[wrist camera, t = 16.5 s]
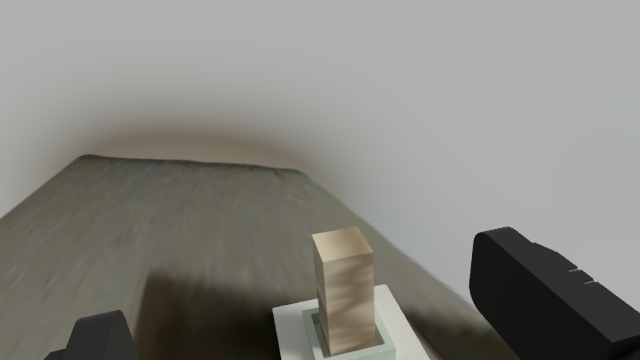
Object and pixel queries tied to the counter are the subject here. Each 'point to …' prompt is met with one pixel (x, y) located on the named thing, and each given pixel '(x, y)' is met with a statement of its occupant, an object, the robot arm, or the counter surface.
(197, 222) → the counter surface
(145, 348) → the counter surface
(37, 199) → the counter surface
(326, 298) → the beige square block
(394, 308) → the base plate
